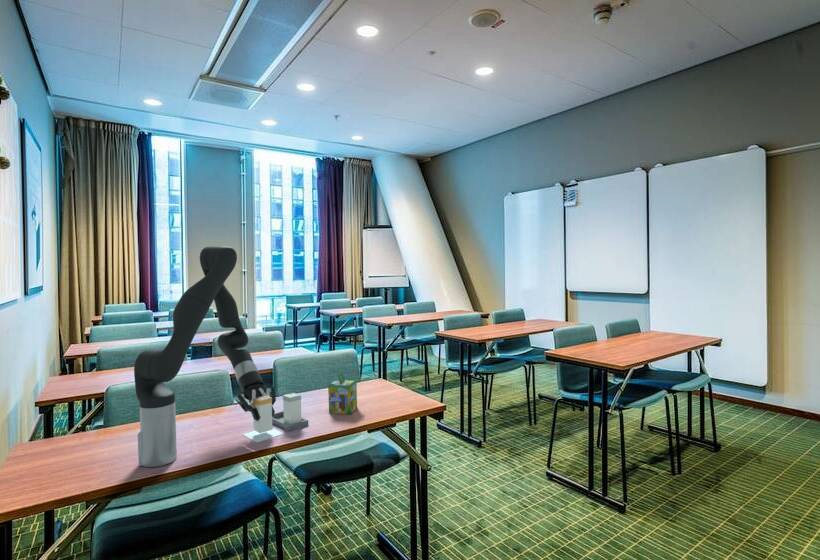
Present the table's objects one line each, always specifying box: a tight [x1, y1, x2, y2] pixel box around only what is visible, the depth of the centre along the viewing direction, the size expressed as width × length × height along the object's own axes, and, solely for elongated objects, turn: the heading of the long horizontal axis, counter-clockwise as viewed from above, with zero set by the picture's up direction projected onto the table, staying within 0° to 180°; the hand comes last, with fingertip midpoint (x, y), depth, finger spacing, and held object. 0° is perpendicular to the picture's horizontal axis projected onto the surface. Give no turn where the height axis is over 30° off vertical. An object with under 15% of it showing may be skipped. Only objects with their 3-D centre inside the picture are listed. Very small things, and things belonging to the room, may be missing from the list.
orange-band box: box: [252, 394, 273, 433], centre depth 151 cm, size 5×5×11 cm
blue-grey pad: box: [242, 427, 285, 444], centre depth 151 cm, size 10×10×1 cm
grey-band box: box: [282, 392, 302, 425], centre depth 159 cm, size 5×5×11 cm
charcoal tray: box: [272, 410, 309, 432], centre depth 162 cm, size 16×8×2 cm, turn 46°
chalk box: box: [327, 372, 358, 415], centre depth 176 cm, size 9×9×15 cm
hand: (265, 417), depth 150 cm, fingers closed on orange-band box, 4 cm apart
